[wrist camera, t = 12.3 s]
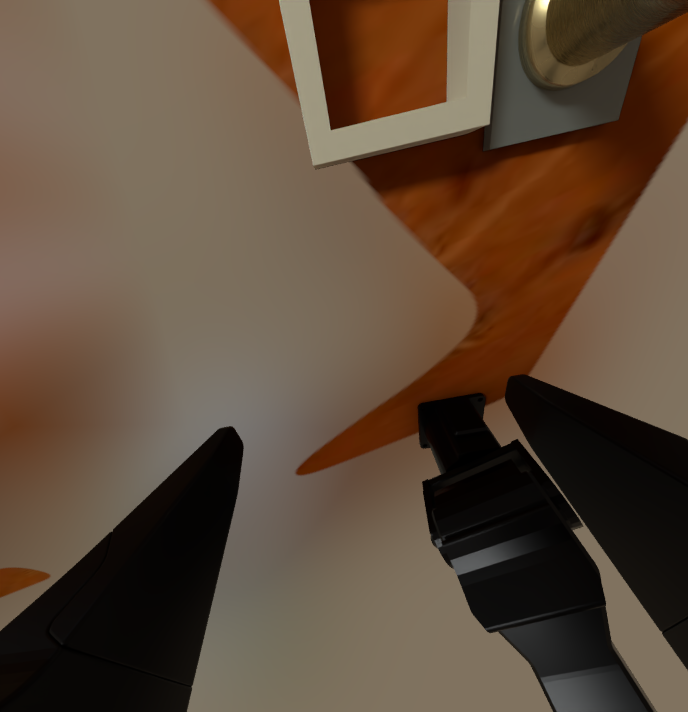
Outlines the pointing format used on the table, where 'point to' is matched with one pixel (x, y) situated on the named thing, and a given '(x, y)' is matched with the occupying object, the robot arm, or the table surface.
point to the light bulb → (583, 35)
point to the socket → (438, 122)
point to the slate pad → (548, 92)
